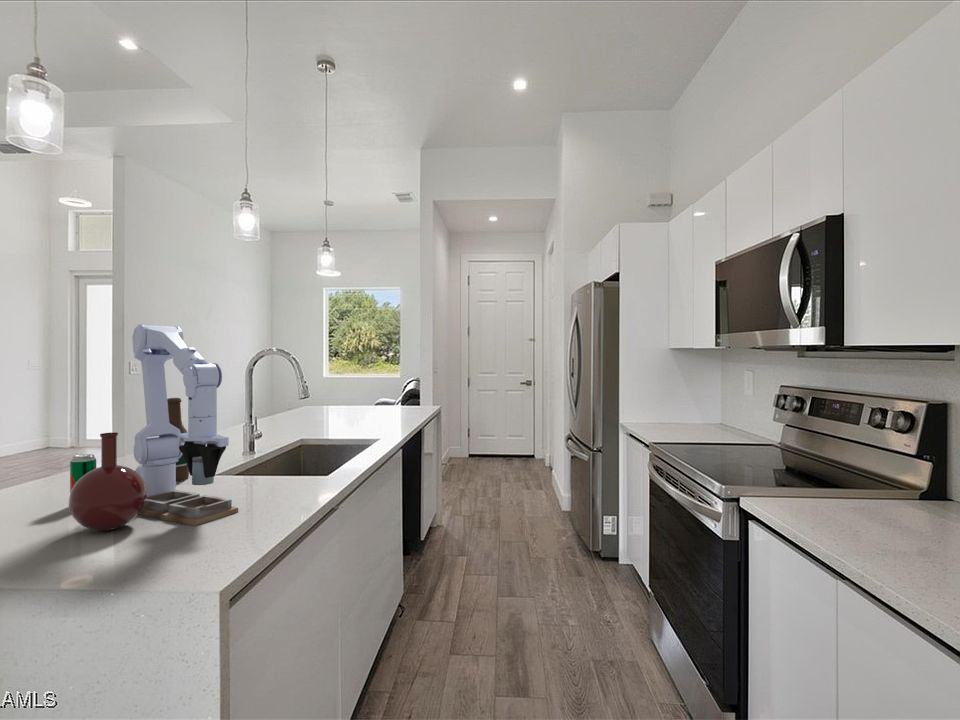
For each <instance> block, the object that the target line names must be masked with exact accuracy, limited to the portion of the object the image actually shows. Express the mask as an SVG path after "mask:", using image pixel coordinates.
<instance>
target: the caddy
mask: <svg viewBox="0 0 960 720" xmlns="http://www.w3.org/2000/svg"><path fill="white" fill-rule="evenodd" d="M232 501H233V500H232V499H230V498H224V497H218V496H214V495H209V494H204V495H201V496H200V493H195V492H190V491H185V490H180V489H179V490H178V489H176V490H172V491H168V492H164V493H160V494H156V495H152V496H148V497H146V501H145V504H144V506H143V508H142V510H141V511H140V512H139V514H138V515H141V516H145V517H150V518H154V519H159V520H164V521H169V522H173V523H178V524H184V525H187V526H194V527H196V526H199V525H203V524H205V523H207V522H211V521H214V520H218V519H221V518H223V517H227V516H230V515H232V514H236V513H239V507H236V506H233V504H232Z"/></svg>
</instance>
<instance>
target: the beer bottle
mask: <svg viewBox="0 0 960 720" xmlns="http://www.w3.org/2000/svg"><path fill="white" fill-rule="evenodd" d="M167 403H168V414H169V423H170V424H171V425H173V426H174V427H176V428H178V429H179V430H180V432H181V434H182V433H188V430H187V429H186V427H185V426H184V425H183V422H182V410H181V403H182V399H181V398H180V397H169V398H167ZM166 436H167V435H161V436H158V437H166ZM183 443H184V444H185V442H183ZM189 477H190V473H189V470H188V466H187V463H186V460H185V458H184V456H183V454H182V456H181V457H180V458H179V459H178V462H176V483H179V482H184V481H186V480H188V479H189Z"/></svg>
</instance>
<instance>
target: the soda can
mask: <svg viewBox="0 0 960 720" xmlns="http://www.w3.org/2000/svg"><path fill="white" fill-rule="evenodd" d="M96 468H97V458H96V457H95V454H91V453H90V454H87V453H86V454H79V455H73V456H72V457H71V460H70V461H69V494H70V493H71V490H72V488H73V487H74V485H75V484H76V482H77V481H78V480H79V479H80V478H81V477H82V476H84V475H85V474H86V473H88V472H90V471H91V470H93V469H96Z"/></svg>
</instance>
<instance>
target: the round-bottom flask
mask: <svg viewBox="0 0 960 720" xmlns="http://www.w3.org/2000/svg"><path fill="white" fill-rule="evenodd" d="M118 435H119V433H118V432H103V433H100V434H99V436H100V439H101V440H100V441H101V446H100V447H101V451H100V452H101V455H100V457H101V458H100V459H101V461H100V462H101V465H100V467H99V466H98V467H96V469H93V470H91V471H90V472H88V473H86V474H85V475H84V476H82V477H81V478H80V479H79V480H78V481H77V482H76V484H75V485H74V487H73V488H72V490H71V493H70V492H69V497H68V509H69V512H70V515H71V517H72V518H73V519H74V520H75V522H76V523H78V524H79V525H81V526H82V527H84V528H86V529H89V530H92V531H98V532H99V531H101V532H103V531H112V530H115V529H118V528H121V527H123V526H125V525H127V524H129V523H130V522H131V521H133V520H134V519H135V518H136V517H137V516H138V515H140V514H139V512H140V511H141V510H142V508H143V506H144V504H145V501H146V496H147V490H146V485H145V482H144V480H143V479H142V477H141V476H140V475H139V474H138V473H137V472H135V469H133V468H130V467H128V466H124V465H118V463H117V461H118V459H117V458H118V451H117V449H118V447H117V446H118V445H117V440H118Z"/></svg>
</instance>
